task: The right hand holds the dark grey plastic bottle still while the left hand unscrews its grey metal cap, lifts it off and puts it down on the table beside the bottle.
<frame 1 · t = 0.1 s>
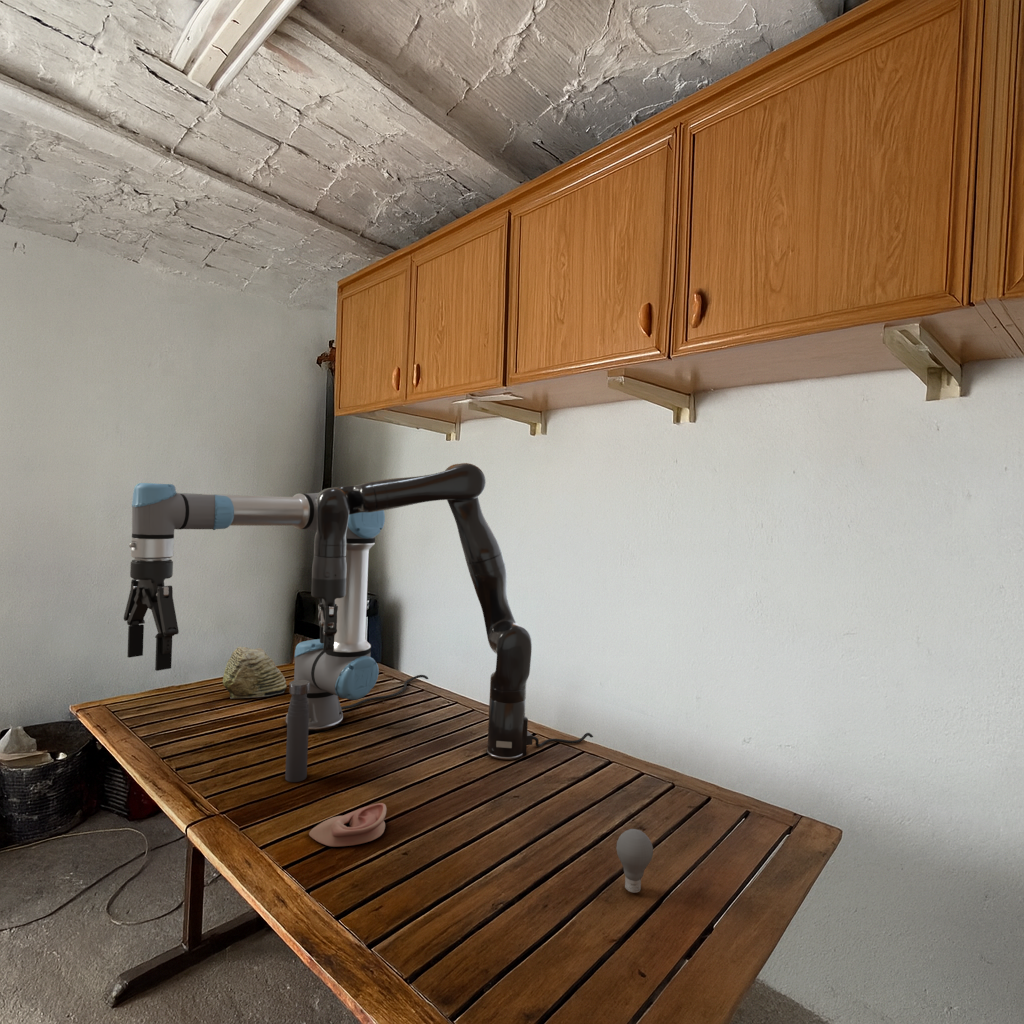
left hand: (148, 662, 129), 28 cm above the table, tool pointing down, fingers open, 13 cm apart
right hand: (326, 647, 144), 29 cm above the table, tool pointing down, fingers open, 8 cm apart
anatomical model: (348, 832, 120), on the table
light bulb: (632, 891, 106), on the table
bottle: (296, 777, 142), on the table
cap: (299, 683, 142), point 21 cm above the table, screwed on, not yet turned
fossil: (254, 694, 198), on the table
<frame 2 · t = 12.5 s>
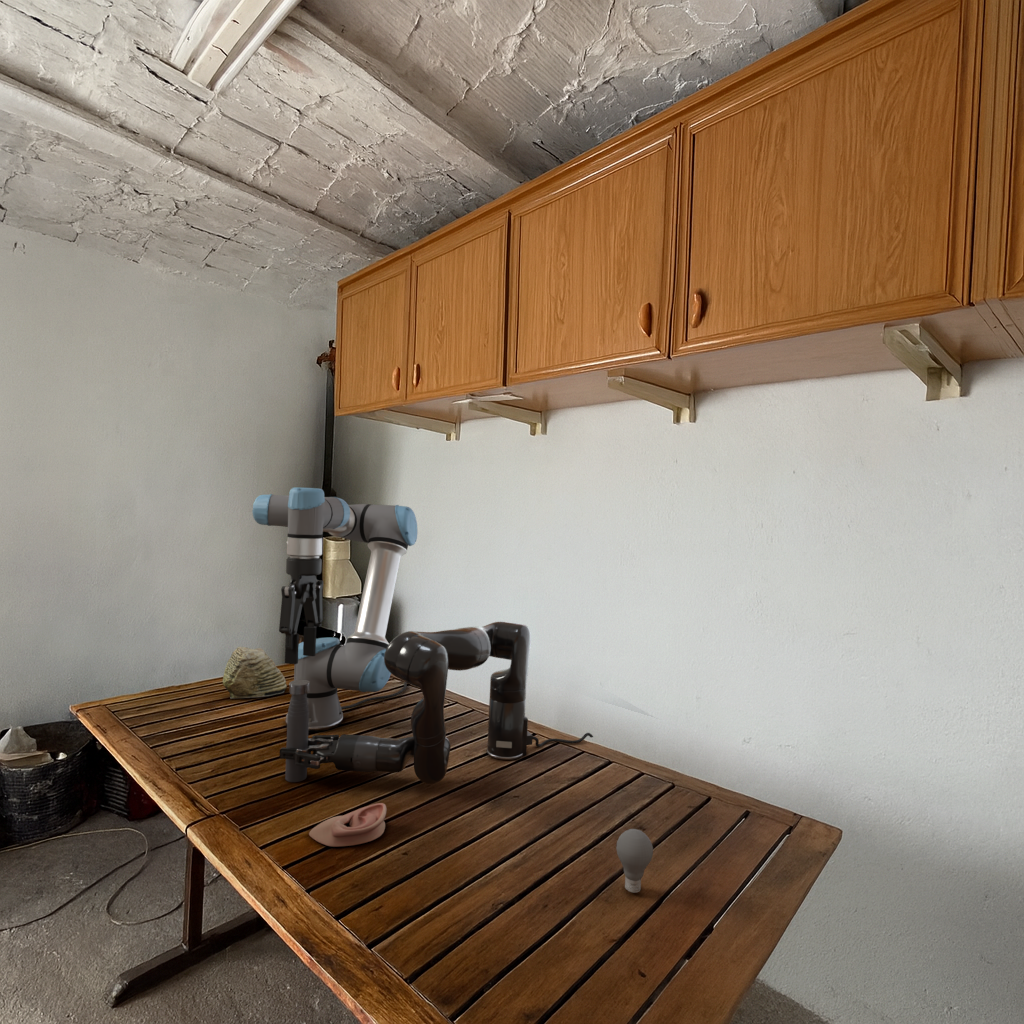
left hand: (300, 659, 142), 27 cm above the table, tool pointing down, fingers open, 7 cm apart
right hand: (285, 748, 142), 6 cm above the table, tool horizontal, fingers closed on bottle, 4 cm apart
bottle: (295, 777, 142), on the table, touching right hand
everything else where it was.
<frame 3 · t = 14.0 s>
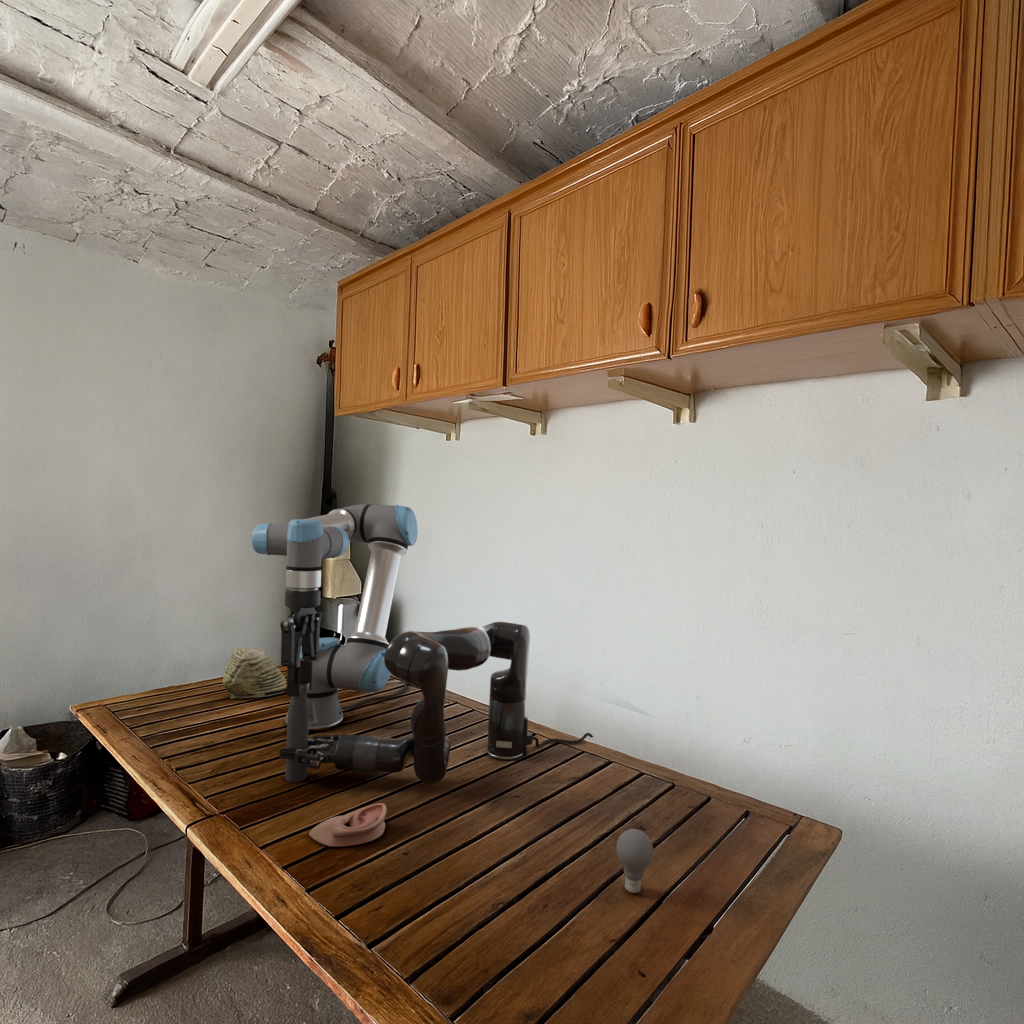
left hand: (299, 692, 142), 19 cm above the table, tool pointing down, fingers closed on cap, 4 cm apart
right hand: (285, 748, 142), 6 cm above the table, tool horizontal, fingers closed on bottle, 4 cm apart
bottle: (296, 777, 142), on the table, touching right hand
cap: (299, 683, 142), point 21 cm above the table, screwed on, not yet turned, touching left hand
everything else where it was.
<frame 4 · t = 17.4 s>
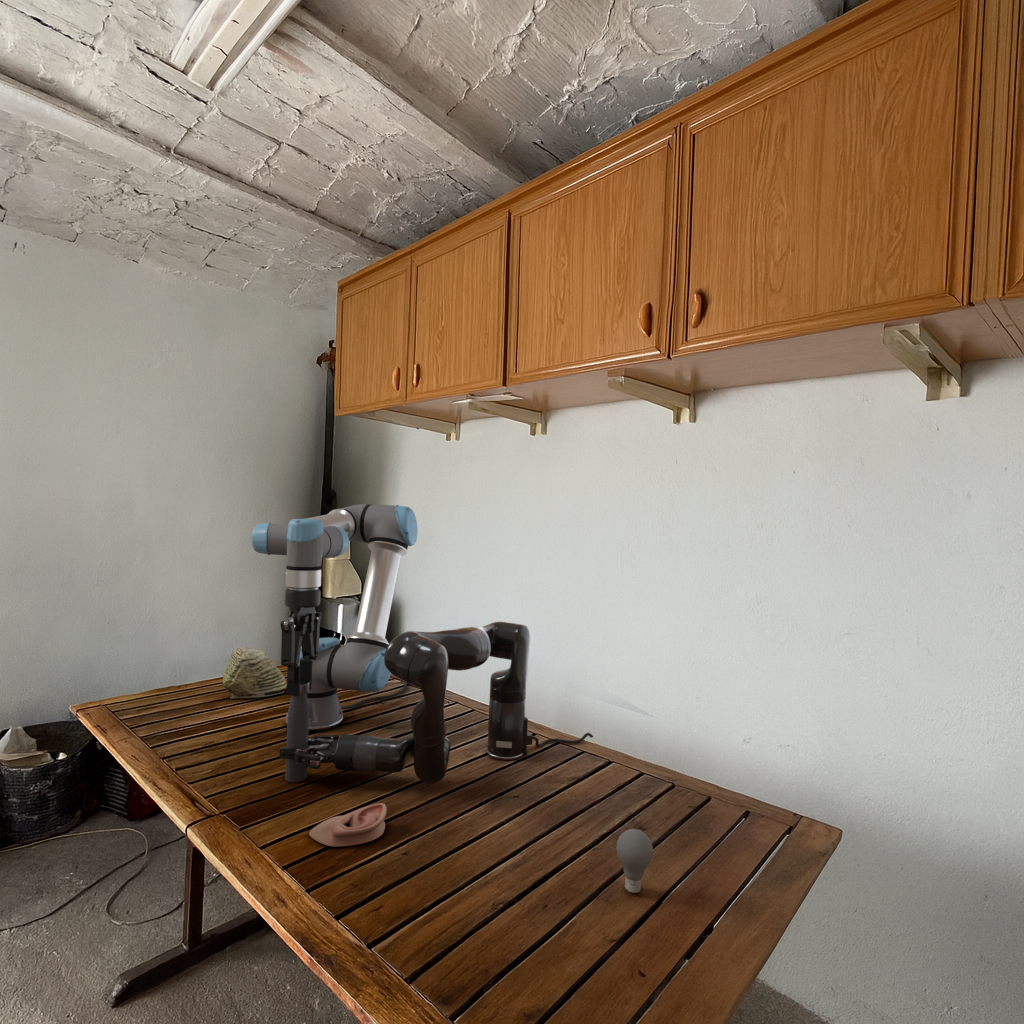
left hand: (299, 691, 142), 19 cm above the table, tool pointing down, fingers closed on cap, 4 cm apart
right hand: (285, 748, 142), 6 cm above the table, tool horizontal, fingers closed on bottle, 4 cm apart
bottle: (296, 777, 142), on the table, touching right hand
cap: (299, 683, 142), point 21 cm above the table, turned 107° so far, risen 0.1 cm, still on its thread, touching left hand
everything else where it was.
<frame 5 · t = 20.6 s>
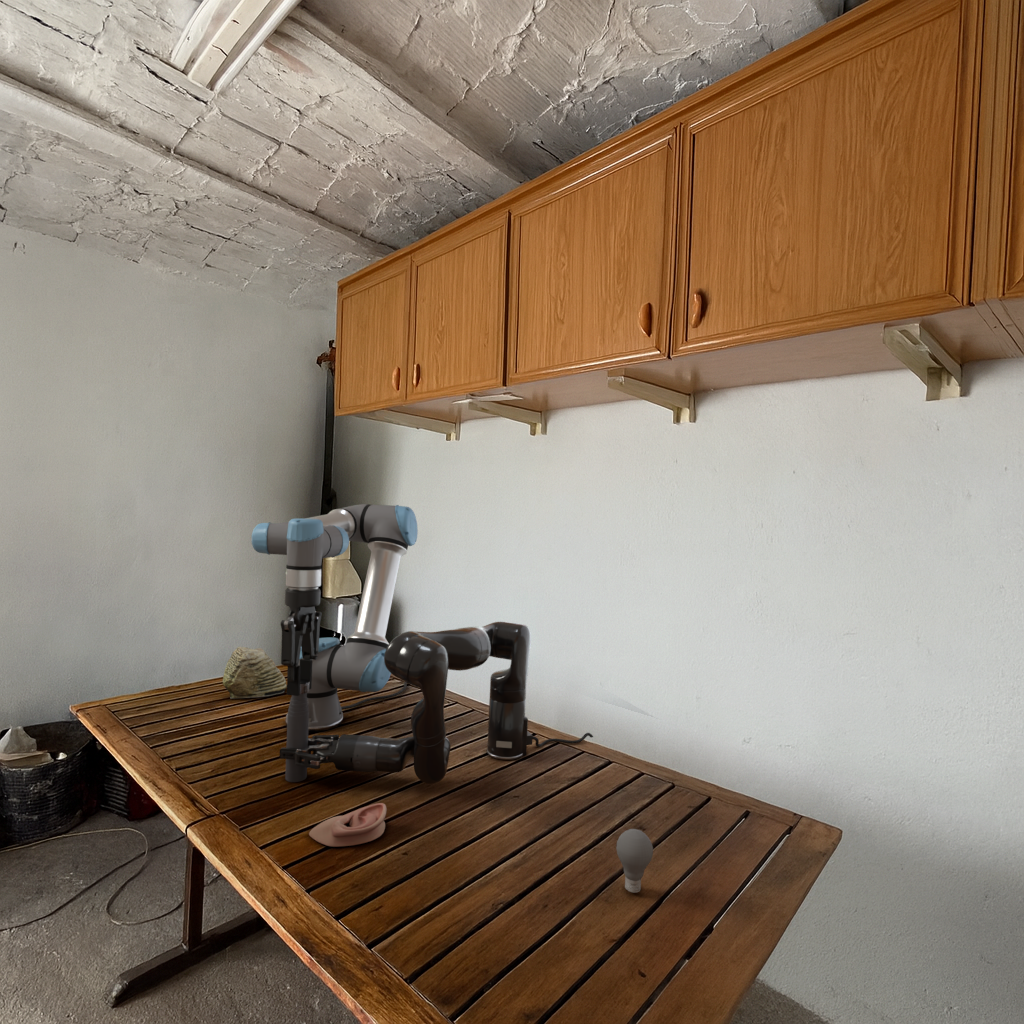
left hand: (299, 691, 142), 20 cm above the table, tool pointing down, fingers closed on cap, 4 cm apart
right hand: (285, 748, 142), 6 cm above the table, tool horizontal, fingers closed on bottle, 4 cm apart
bottle: (296, 777, 142), on the table, touching right hand
cap: (299, 682, 142), point 21 cm above the table, turned 215° so far, risen 0.2 cm, still on its thread, touching left hand
everything else where it was.
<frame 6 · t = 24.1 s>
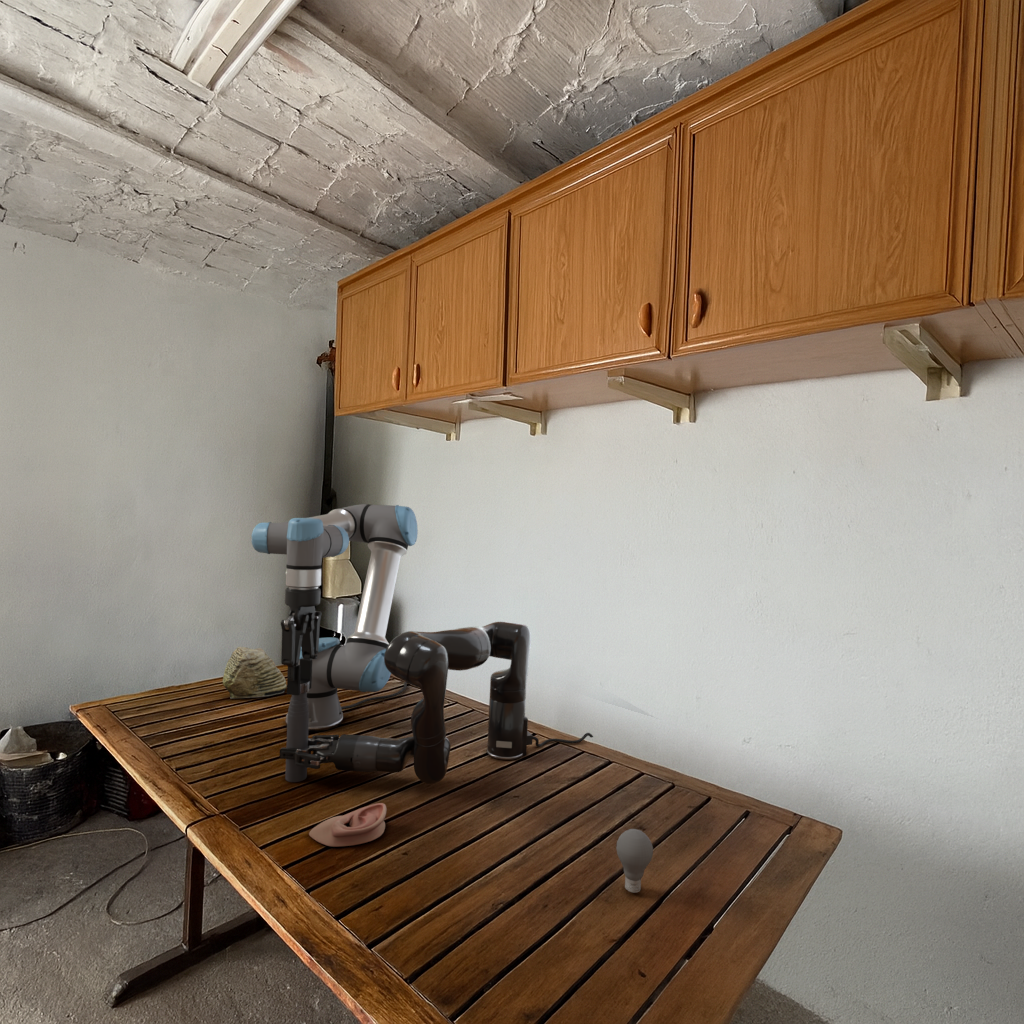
left hand: (299, 690, 142), 20 cm above the table, tool pointing down, fingers closed on cap, 4 cm apart
right hand: (285, 748, 142), 6 cm above the table, tool horizontal, fingers closed on bottle, 4 cm apart
bottle: (296, 777, 142), on the table, touching right hand
cap: (299, 682, 142), point 22 cm above the table, turned 322° so far, risen 0.3 cm, still on its thread, touching left hand
everything else where it was.
when the left hand's fingers open (1 cm above the table, at t = 30.6 s): cap stays where it is, point 2 cm above the table.
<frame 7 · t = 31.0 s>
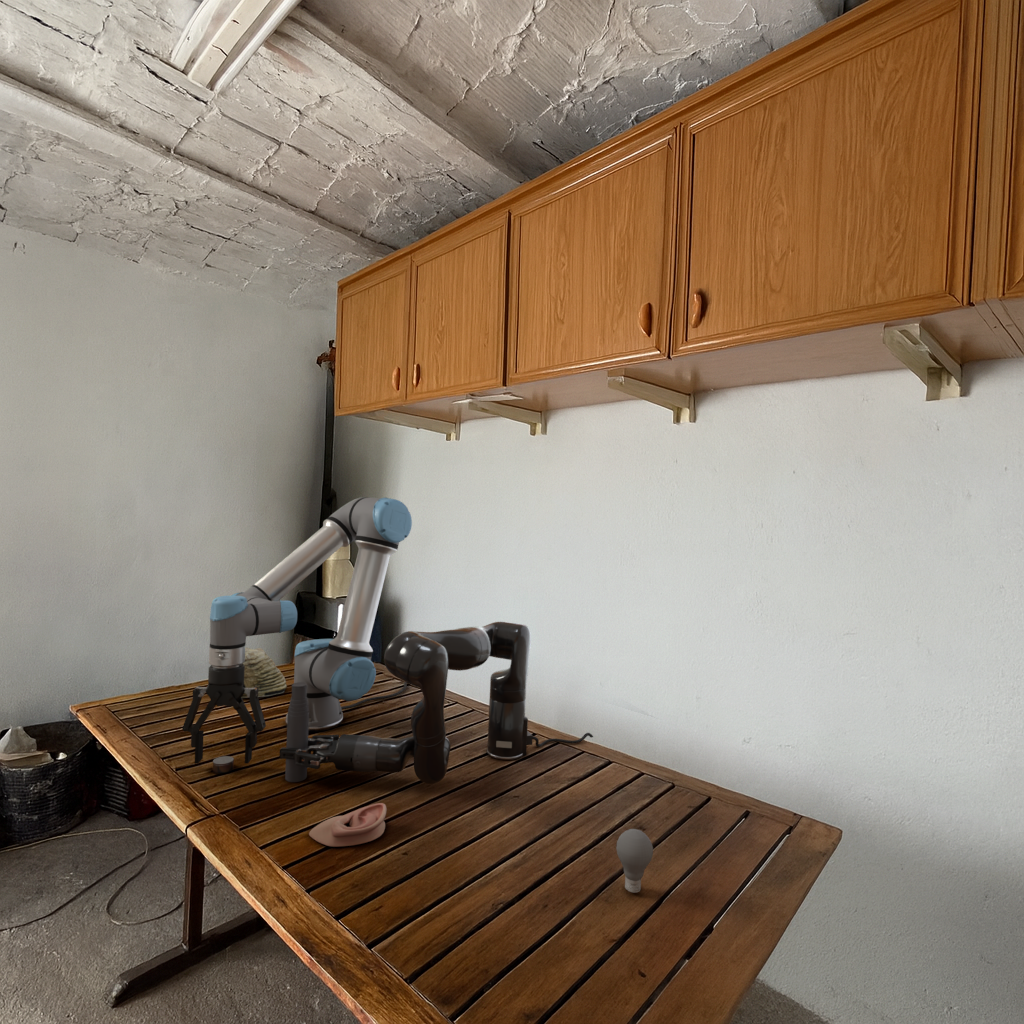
left hand: (223, 760, 145), 2 cm above the table, tool pointing down, fingers open, 10 cm apart
right hand: (285, 748, 142), 7 cm above the table, tool horizontal, fingers closed on bottle, 4 cm apart
bottle: (296, 777, 142), on the table, touching right hand
cap: (223, 761, 145), point 2 cm above the table, off its thread
everything else where it was.
when the right hand's fingers open (7 cm above the table, at t = 31.9 s): bottle stays where it is, on the table.
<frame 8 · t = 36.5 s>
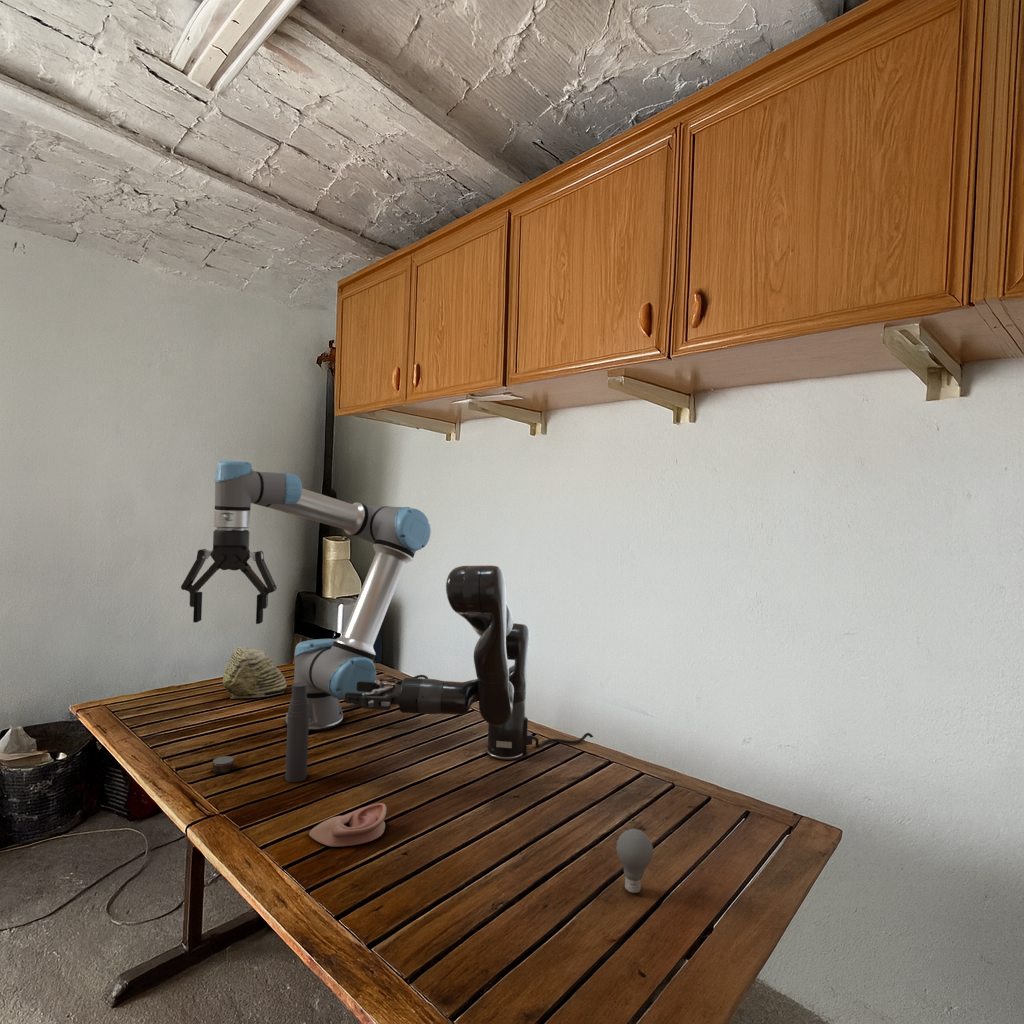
left hand: (228, 622, 144), 34 cm above the table, tool pointing down, fingers open, 13 cm apart
right hand: (351, 691, 141), 20 cm above the table, tool horizontal, fingers open, 8 cm apart
bottle: (296, 777, 142), on the table
everything else where it was.
at the end: cap came off its thread; cap point 1.9 cm above the table; the left hand is holding nothing; the right hand is holding nothing; bottle tilted 0°; bottle moved 0.0 cm from its start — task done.
